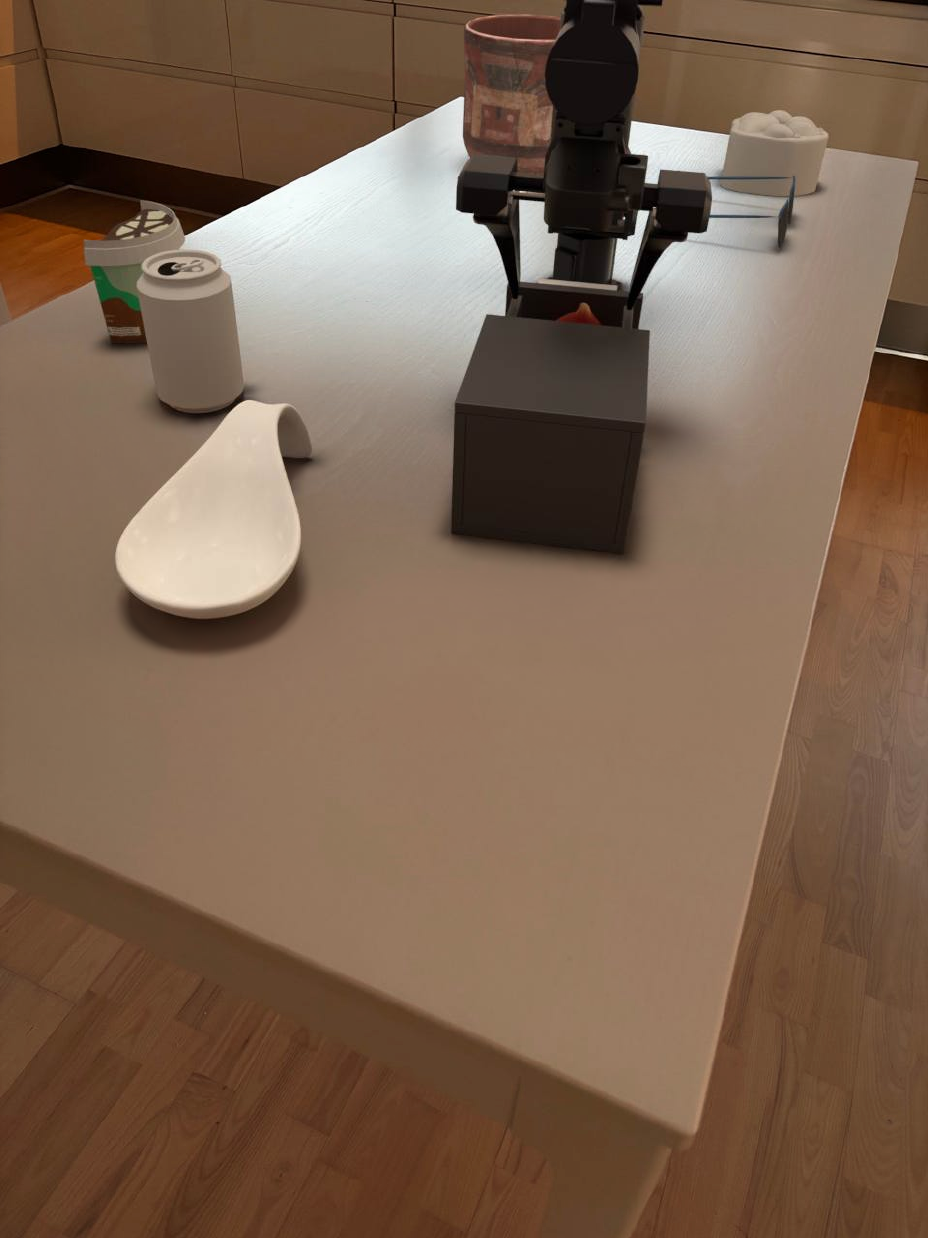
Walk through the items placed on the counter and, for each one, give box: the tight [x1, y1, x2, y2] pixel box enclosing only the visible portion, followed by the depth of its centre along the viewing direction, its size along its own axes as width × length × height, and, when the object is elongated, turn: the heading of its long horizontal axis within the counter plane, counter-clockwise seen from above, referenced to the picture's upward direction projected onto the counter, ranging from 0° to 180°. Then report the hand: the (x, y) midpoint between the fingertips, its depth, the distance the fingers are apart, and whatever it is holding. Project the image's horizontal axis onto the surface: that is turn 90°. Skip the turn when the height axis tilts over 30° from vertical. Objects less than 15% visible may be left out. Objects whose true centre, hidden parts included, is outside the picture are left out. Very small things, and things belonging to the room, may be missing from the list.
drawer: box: [504, 277, 644, 329], centre depth 83 cm, size 18×11×9 cm, turn 171°
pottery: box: [462, 14, 561, 174], centre depth 134 cm, size 18×18×18 cm
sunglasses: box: [707, 175, 795, 249], centre depth 125 cm, size 17×15×5 cm
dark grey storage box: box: [450, 314, 651, 555], centre depth 74 cm, size 15×13×11 cm
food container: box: [83, 199, 186, 344], centre depth 94 cm, size 12×6×10 cm, turn 168°
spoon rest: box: [114, 399, 313, 620], centre depth 69 cm, size 24×12×7 cm, turn 174°
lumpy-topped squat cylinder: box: [719, 109, 829, 197], centre depth 137 cm, size 10×13×9 cm
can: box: [137, 248, 245, 414], centre depth 83 cm, size 8×8×12 cm
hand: (572, 302), depth 80 cm, fingers open, 9 cm apart
